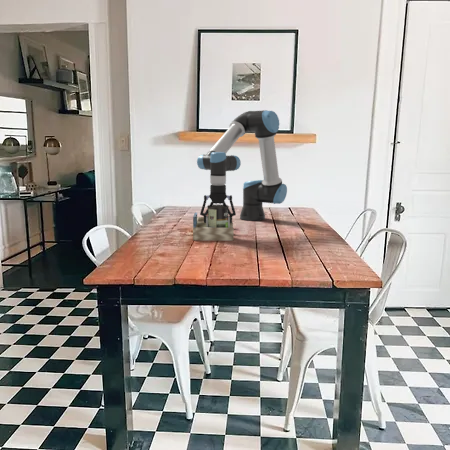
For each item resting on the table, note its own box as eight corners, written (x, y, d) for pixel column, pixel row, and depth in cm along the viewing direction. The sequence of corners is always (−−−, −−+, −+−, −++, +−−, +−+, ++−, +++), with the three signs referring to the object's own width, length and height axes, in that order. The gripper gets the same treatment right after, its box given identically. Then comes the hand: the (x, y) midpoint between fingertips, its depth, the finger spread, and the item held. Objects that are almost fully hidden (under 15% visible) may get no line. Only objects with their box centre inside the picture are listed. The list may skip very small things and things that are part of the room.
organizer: (232, 228, 254) (232, 207, 252) (233, 240, 223) (233, 217, 221) (196, 227, 253) (196, 207, 251) (193, 240, 222) (192, 217, 220)
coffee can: (230, 232, 234) (230, 204, 232) (226, 236, 224) (226, 207, 222) (210, 231, 236) (210, 203, 234) (205, 235, 226) (205, 206, 224)
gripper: (241, 183, 230) (240, 228, 234) (195, 183, 229) (195, 228, 234) (241, 185, 222) (241, 231, 226) (194, 185, 222) (194, 230, 226)
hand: (217, 229), depth 230 cm, fingers closed on coffee can, 10 cm apart
